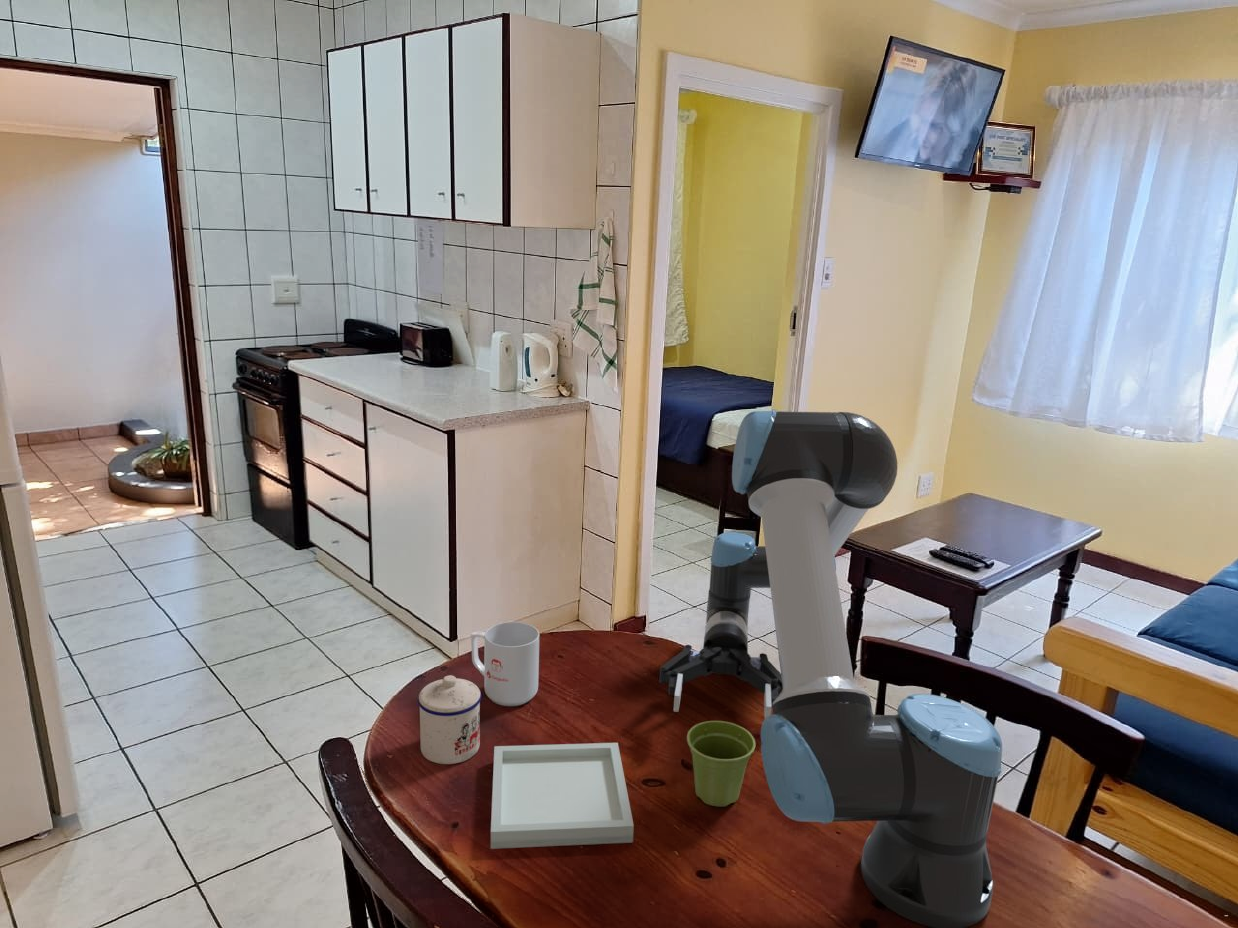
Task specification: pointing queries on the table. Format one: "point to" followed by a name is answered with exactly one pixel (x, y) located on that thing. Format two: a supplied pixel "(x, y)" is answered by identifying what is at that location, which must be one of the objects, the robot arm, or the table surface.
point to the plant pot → (719, 760)
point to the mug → (509, 662)
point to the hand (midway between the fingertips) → (721, 709)
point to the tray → (559, 796)
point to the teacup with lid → (449, 720)
